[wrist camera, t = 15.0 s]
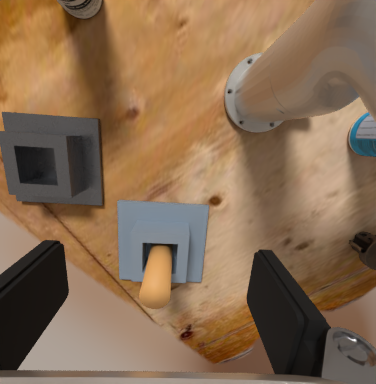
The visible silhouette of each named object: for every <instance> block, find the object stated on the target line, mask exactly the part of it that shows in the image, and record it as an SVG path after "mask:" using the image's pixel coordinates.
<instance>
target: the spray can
mask: <svg viewBox="0 0 376 384" xmlns="http://www.w3.org/2000/svg"><path fill="white" fill-rule="evenodd" d="M57 1H58V2H59V4H60V5H61V6H62V7H63V8H64V9H65V10H66V11H67V12H68V13H70V14H71V15H73V16H75V17H77V18H81V19H88V18H90V17H93V16H94V15H95V14H96V13H97V12H98V11H99V9H100V7H101V4H102V0H57Z"/></svg>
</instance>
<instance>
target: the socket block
mask: <svg viewBox="0 0 376 384" xmlns="http://www.w3.org/2000/svg"><path fill="white" fill-rule="evenodd" d="M117 205H118V241H119V277H120V279H129V280H132V281H139V282H143V278H144V273H145V269H146V265H147V261H148V257H149V253H150V249H151V244H152V243H162V244H173V251H172V272H171V283H186V282H201V278H202V268H203V259H204V249H205V240H206V230H207V220H208V211H209V205H202V204H184V203H166V202H148V201H130V200H118V201H117Z"/></svg>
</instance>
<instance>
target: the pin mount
mask: <svg viewBox="0 0 376 384" xmlns="http://www.w3.org/2000/svg"><path fill="white" fill-rule="evenodd" d="M2 117H3V123H4V129H5V131H0V146H1V152H2V157H3V163H4V168H5V174H6V180H7V185H8V191H9V194H11V195H16V199H17V201H27V202H45V203H64V204H83V205H103V204H104V196H103V175H102V154H101V132H100V119H92V118H78V117H65V116H51V115H38V114H25V113H11V112H2Z"/></svg>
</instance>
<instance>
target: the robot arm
mask: <svg viewBox="0 0 376 384" xmlns="http://www.w3.org/2000/svg"><path fill="white" fill-rule="evenodd" d="M247 62H249V63H250V64H248V63H247ZM228 91H230V94H228ZM358 97H360V98H361V100H362V101H363V103H364V105H365V107H366V109H367V110H368V112H369V114H370V115H372V117H373V119H374V121H375V122H376V0H315V1H314V2H313V3H312V4H311V6H310V7H309V8H308V9H307V10H306V11H305V12H304V13H303V14H302V15H301V16H300V17H299V18H298V19H297V20H296V21H295V22H294V23H293V24H292V25H291V26H290V27H289V28H288V29H287V30H286V31H285V32H284V33H283V34H282V35H281V36H280V37H279V38H278V39H277V40H276V41H275V42H274V43H273V44H272V45H271V46H270V47H269V48H268V49H267V50H266V51H265V52H264V53H257V54H253V55H251V56H249V57H247V58H245V59H244V60H242V61H241V62H240V63H239V64H238V65H237V66H236V67H235V68H234V70H233V71H232V72H231V74H230V76H229V78H228V80H227V83H226V86H225V91H224V103H225V108H226V111H227V113H228V116H229V117H230V119H231V120H232V121H233V122H234V123H235V125H236V126H238V127H239V128H241V129H243V130H245V131H248V132H257V133H259V132H266V131H269V130H272V129H274V128H275V127H277V126H279V125H280V124H281V123H282V122H284V120H291V119H299V118H306V117H314V116H320V115H325V114H329V113H332V112H335V111H337V110H340V109H342V108H344V107H345V106H347V105H349V104H350V103H351V102H353V101H354V100H356V99H357V98H358ZM240 121H241V122H242V123H241V124H240V123H239V122H240ZM270 124H271V126H270ZM68 293H69V289H68V280H67V270H66V261H65V252H64V245H63V244H61V243H60V241H55V240H44V241H43V242H41V243H40V244H39V245H38V246H36V247H35V248H34V249H33V250H31V251H30V252H29V253H28V254H26V255H25V256H24V257H22V258H21V259H20V260H18V261H17V262H16V263H15V264H13V265H12V266H11V267H9V268H8V269H7V270H6V271H4V272H3V273H2V274H1V275H0V384H376V349H375V348H374V347H373V346H372V345H371V344H370V343H369V342H368V341H366V340H365V339H364V338H363V337H361V336H360V335H358V334H356V333H354V332H352V331H350V330H347V329H344V328H340V327H335V328H331V327H330V326H329V325H328V323H327V322H326V319H325V318H324V317H323V315H322V314H321V313H320V312H319V310H318V309H317V308H316V306H315V305H314V304H313V303H312V301H311V300H310V299H309V297H308V296H307V295H306V294H305V292H304V291H303V290H302V288H301V287H300V286H299V285H298V283H297V282H296V281H295V279H294V278H293V277H292V276H291V274H290V273H289V272H288V271H287V269H286V268H285V267H284V265H283V264H282V263H281V262H280V260H279V259H278V258H277V256H276V255H275V254H274V253H273V251H272V250H259V251H258V252H256V253H255V254H254V259H253V265H252V270H251V276H250V281H249V287H248V292H247V304H248V306H249V309H250V311H251V314H252V317H253V319H254V322H255V324H256V327H257V329H258V332H259V334H260V337H261V340H262V342H263V345H264V347H265V350H266V352H267V355H268V357H269V360H270V363H271V365H272V368H273V370H274V373H275V374H257V373H211V372H210V373H208V372H148V371H143V372H142V371H41V370H38V371H37V370H33V371H32V370H17V369H18V368H19V366H20V365H21V363H22V362H23V360H24V359H25V357H26V356H27V355H28V353H29V352H30V350H31V349H32V347H33V346H34V345H35V343H36V342H37V340H38V339H39V337H40V336H41V335H42V333H43V331H44V330H45V329H46V327H47V326H48V324H49V323H50V322H51V320H52V319H53V317H54V316H55V314H56V313H57V312H58V310H59V308H60V307H61V306H62V304H63V303H64V301H65V300H66V298H67V296H68Z"/></svg>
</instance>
